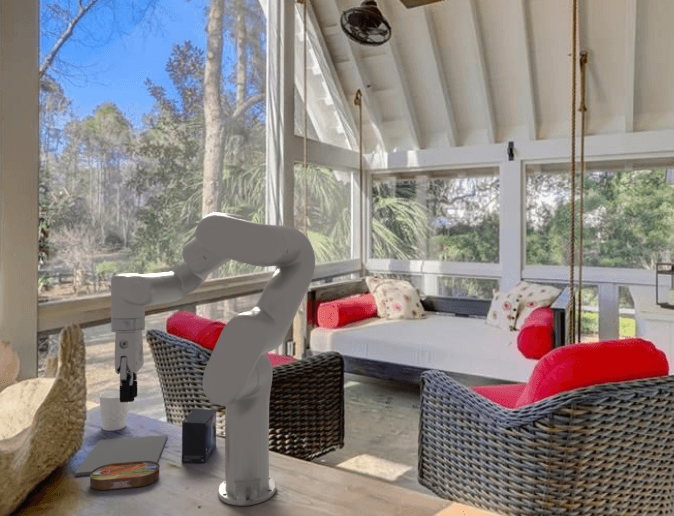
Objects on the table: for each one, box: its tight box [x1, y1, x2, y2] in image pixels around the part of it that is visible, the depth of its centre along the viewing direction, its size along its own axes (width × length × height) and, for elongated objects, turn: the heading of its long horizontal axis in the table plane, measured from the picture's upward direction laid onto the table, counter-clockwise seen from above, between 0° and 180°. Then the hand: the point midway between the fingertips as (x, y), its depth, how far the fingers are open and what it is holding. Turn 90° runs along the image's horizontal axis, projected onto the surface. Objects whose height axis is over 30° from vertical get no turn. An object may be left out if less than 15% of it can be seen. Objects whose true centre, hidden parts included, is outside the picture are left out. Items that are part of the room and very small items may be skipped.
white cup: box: [99, 389, 129, 432], centre depth 147 cm, size 8×8×10 cm
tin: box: [89, 461, 161, 491], centre depth 113 cm, size 15×3×8 cm
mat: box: [74, 434, 169, 477], centre depth 127 cm, size 20×18×1 cm
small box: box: [181, 408, 217, 464], centre depth 128 cm, size 11×6×10 cm, turn 179°
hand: (128, 398), depth 119 cm, fingers open, 2 cm apart
